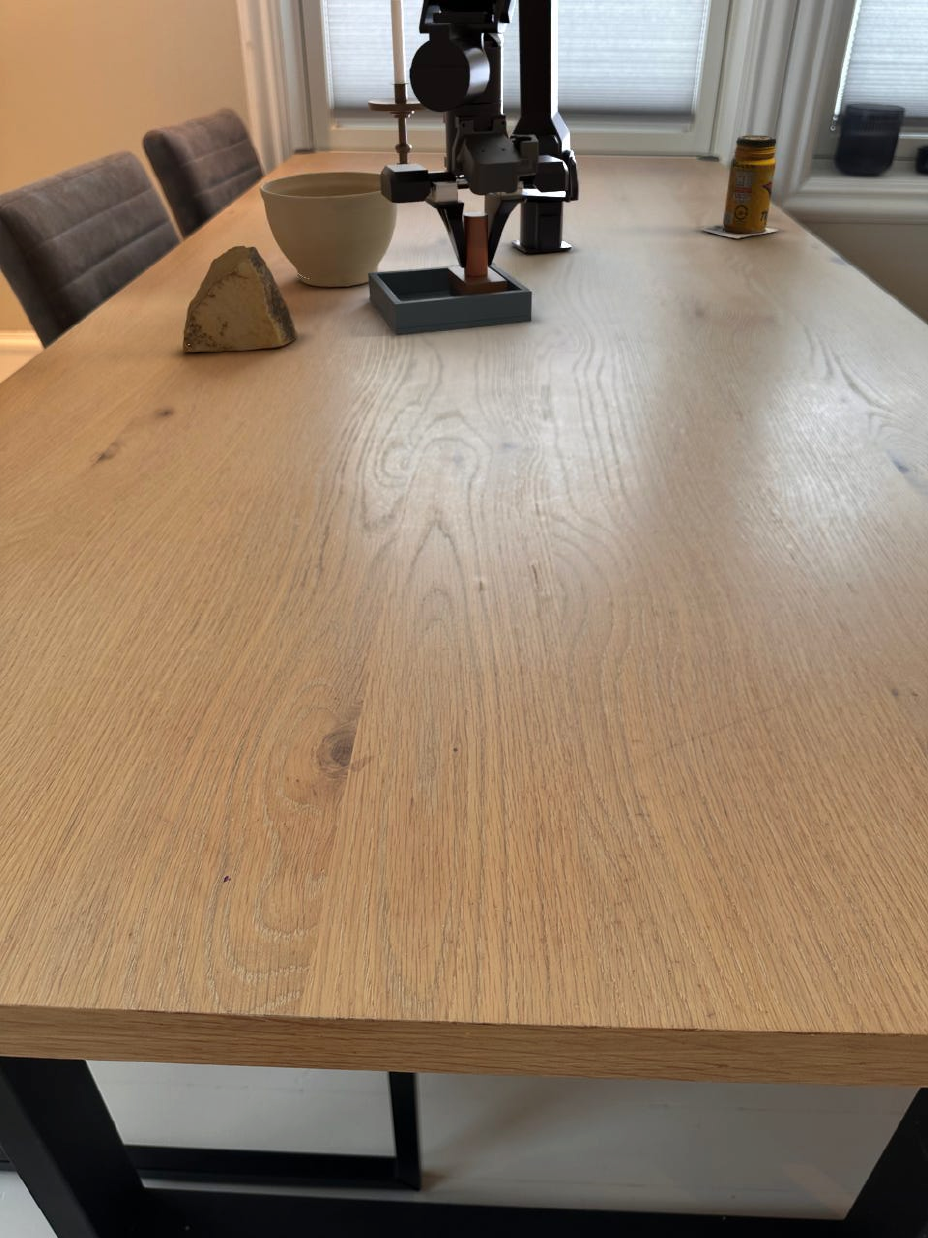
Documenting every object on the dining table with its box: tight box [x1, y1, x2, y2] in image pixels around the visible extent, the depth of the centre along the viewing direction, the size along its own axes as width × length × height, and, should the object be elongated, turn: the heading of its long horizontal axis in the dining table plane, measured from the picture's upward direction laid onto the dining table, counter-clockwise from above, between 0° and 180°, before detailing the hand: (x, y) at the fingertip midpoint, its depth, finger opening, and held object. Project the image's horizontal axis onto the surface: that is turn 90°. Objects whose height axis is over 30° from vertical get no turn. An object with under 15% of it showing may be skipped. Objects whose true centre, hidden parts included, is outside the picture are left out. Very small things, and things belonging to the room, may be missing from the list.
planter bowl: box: [259, 171, 399, 288], centre depth 113 cm, size 16×16×11 cm
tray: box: [368, 262, 533, 336], centre depth 102 cm, size 14×15×3 cm
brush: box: [447, 211, 507, 297], centre depth 101 cm, size 8×4×9 cm, turn 16°
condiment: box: [699, 134, 779, 239], centre depth 131 cm, size 7×8×12 cm
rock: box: [182, 245, 299, 353], centre depth 93 cm, size 11×9×10 cm
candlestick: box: [367, 0, 429, 165], centre depth 153 cm, size 11×11×35 cm
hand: (475, 265), depth 102 cm, fingers closed on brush, 2 cm apart
